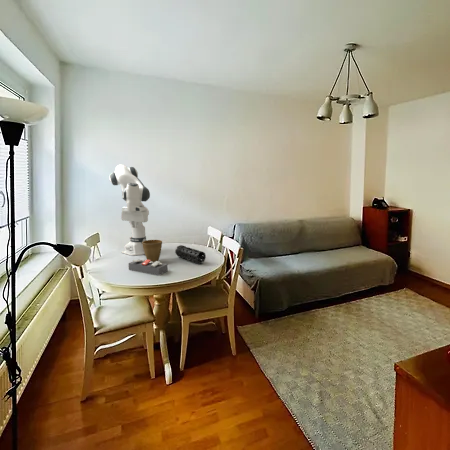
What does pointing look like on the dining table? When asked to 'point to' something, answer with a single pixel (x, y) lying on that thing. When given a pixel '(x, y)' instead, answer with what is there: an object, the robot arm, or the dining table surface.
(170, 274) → the dining table surface
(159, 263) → the right rocker
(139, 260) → the left rocker
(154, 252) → the plant pot
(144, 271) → the switch strip
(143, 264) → the middle rocker
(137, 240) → the robot arm
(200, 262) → the muzzle brake
